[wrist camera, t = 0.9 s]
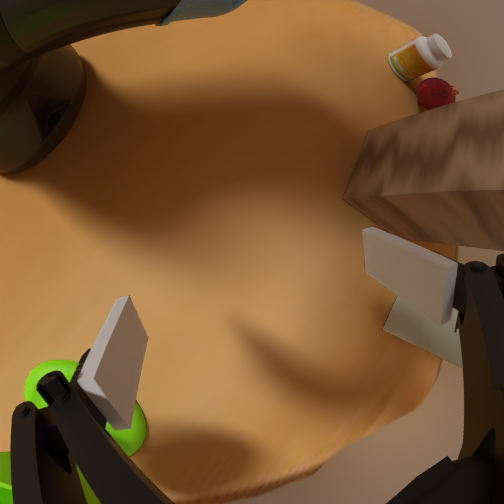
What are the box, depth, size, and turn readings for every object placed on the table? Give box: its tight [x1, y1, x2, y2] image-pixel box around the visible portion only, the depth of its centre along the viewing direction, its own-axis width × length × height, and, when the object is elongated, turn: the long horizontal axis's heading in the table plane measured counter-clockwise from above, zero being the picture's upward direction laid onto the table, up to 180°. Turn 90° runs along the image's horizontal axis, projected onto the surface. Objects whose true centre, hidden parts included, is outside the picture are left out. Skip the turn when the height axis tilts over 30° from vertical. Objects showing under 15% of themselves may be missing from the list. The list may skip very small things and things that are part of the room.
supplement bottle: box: [388, 34, 452, 81], centre depth 27 cm, size 5×5×10 cm
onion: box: [417, 78, 459, 110], centre depth 29 cm, size 6×6×8 cm
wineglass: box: [0, 360, 146, 504], centre depth 15 cm, size 16×16×18 cm
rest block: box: [382, 296, 463, 368], centre depth 26 cm, size 10×7×19 cm
